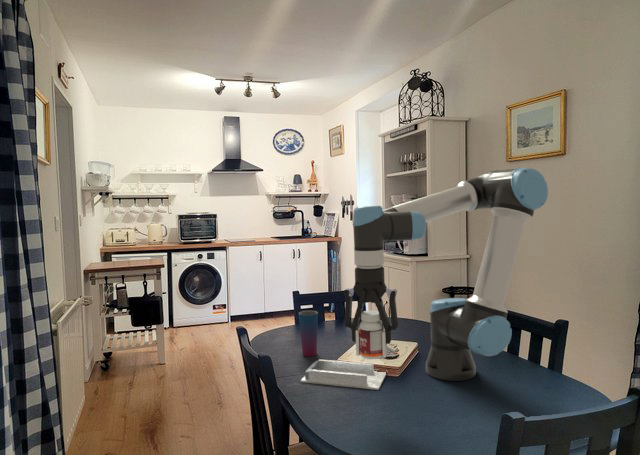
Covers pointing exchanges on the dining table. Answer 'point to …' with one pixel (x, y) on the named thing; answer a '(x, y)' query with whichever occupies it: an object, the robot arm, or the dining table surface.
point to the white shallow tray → (344, 374)
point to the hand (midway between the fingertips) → (371, 354)
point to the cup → (308, 332)
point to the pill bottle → (371, 335)
